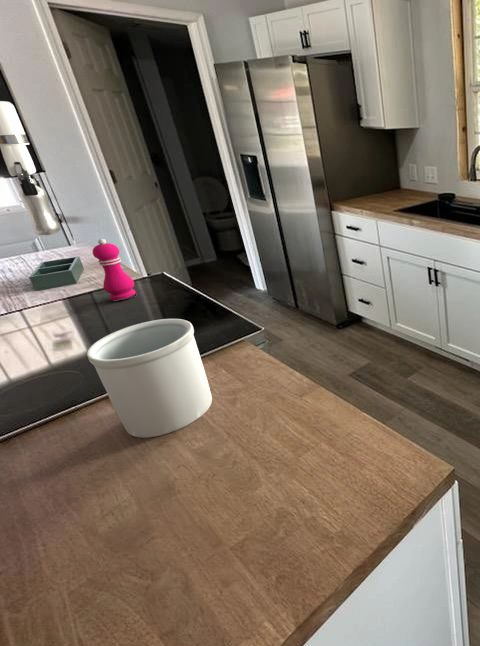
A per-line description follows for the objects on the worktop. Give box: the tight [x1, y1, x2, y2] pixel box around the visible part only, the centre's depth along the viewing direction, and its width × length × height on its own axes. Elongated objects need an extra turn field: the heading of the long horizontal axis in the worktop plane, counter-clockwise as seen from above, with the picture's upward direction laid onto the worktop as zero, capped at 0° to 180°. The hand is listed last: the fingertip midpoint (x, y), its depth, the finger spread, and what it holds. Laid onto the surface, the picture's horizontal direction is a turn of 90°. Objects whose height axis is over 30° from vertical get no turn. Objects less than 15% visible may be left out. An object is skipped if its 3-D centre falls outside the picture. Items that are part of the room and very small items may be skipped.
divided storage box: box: [28, 255, 85, 292], centre depth 149 cm, size 10×19×5 cm, turn 39°
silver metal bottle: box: [18, 179, 61, 236], centre depth 146 cm, size 6×7×20 cm
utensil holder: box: [86, 318, 213, 439], centre depth 79 cm, size 15×15×18 cm
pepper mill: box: [92, 238, 137, 301], centre depth 130 cm, size 7×7×20 cm
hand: (34, 193), depth 144 cm, fingers closed on silver metal bottle, 6 cm apart
